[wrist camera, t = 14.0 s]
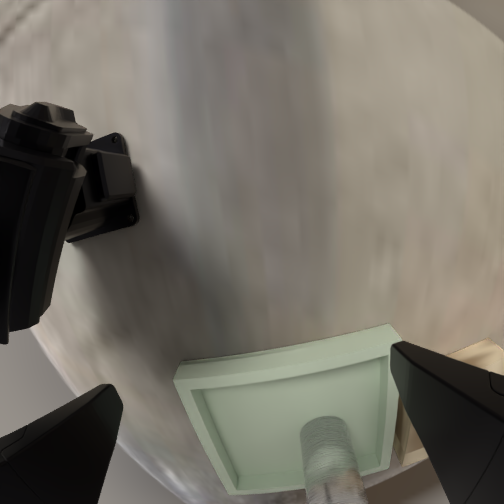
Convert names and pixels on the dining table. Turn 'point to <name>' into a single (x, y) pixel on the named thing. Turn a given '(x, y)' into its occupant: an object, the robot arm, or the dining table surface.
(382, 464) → the tray
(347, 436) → the steel pin
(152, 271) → the dining table surface
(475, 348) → the socket block
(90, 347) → the dining table surface
